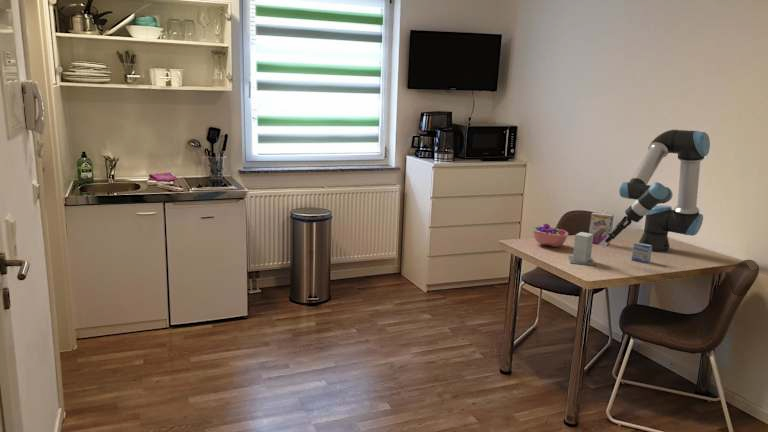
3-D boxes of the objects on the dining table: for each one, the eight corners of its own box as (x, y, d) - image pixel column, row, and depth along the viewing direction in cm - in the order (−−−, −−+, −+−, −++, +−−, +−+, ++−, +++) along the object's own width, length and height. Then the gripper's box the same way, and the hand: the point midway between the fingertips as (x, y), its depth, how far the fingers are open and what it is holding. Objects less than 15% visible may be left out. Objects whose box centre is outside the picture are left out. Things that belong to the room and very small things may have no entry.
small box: (578, 257, 281) (580, 231, 278) (590, 259, 277) (594, 233, 274) (572, 260, 275) (575, 234, 272) (585, 263, 271) (588, 236, 268)
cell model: (552, 252, 290) (554, 230, 288) (524, 242, 307) (525, 222, 305) (574, 248, 299) (577, 227, 297) (546, 239, 316) (548, 220, 313)
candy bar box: (587, 242, 313) (590, 213, 310) (589, 240, 317) (592, 212, 314) (608, 246, 307) (612, 216, 304) (610, 244, 312) (613, 214, 308)
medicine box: (631, 260, 281) (633, 243, 279) (633, 258, 284) (635, 241, 283) (648, 263, 276) (650, 246, 274) (650, 261, 280) (652, 244, 278)
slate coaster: (591, 258, 281) (591, 257, 281) (594, 265, 269) (594, 264, 269) (568, 256, 284) (568, 255, 283) (570, 263, 271) (570, 262, 271)
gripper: (638, 223, 249) (605, 255, 260) (648, 209, 269) (616, 239, 280) (625, 212, 251) (592, 243, 262) (635, 199, 271) (604, 228, 282)
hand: (604, 241), depth 271 cm, fingers open, 13 cm apart
